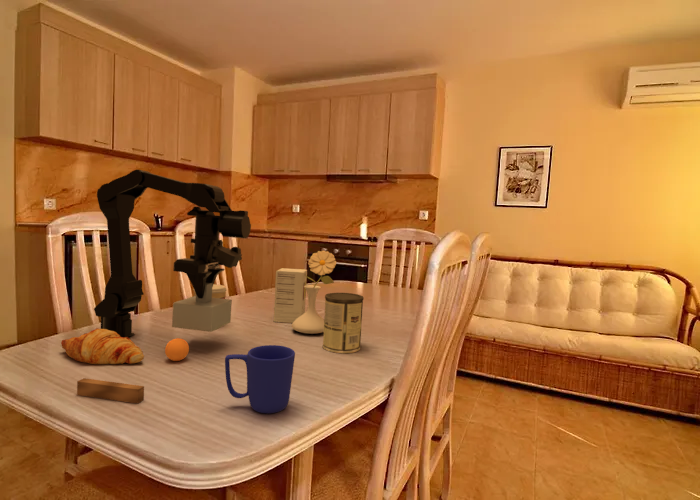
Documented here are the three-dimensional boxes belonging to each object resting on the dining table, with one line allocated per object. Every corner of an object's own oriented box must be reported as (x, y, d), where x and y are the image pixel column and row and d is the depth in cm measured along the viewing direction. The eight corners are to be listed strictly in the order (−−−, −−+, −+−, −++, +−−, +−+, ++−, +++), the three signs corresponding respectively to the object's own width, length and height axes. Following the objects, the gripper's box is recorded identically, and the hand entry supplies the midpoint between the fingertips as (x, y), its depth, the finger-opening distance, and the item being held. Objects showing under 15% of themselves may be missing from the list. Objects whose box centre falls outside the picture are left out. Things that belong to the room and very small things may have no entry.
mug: (228, 396, 76) (230, 343, 75) (293, 397, 77) (296, 345, 76) (217, 417, 68) (220, 358, 67) (290, 418, 69) (293, 360, 68)
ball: (159, 362, 91) (160, 340, 90) (173, 355, 95) (173, 334, 95) (180, 365, 90) (181, 342, 89) (192, 358, 95) (193, 336, 94)
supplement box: (301, 324, 132) (304, 272, 131) (272, 322, 132) (275, 270, 131) (305, 317, 141) (307, 269, 140) (278, 315, 141) (280, 267, 140)
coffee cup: (214, 331, 117) (216, 290, 117) (185, 327, 119) (186, 287, 118) (230, 324, 127) (232, 285, 126) (203, 320, 128) (204, 283, 128)
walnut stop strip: (77, 394, 73) (77, 381, 72) (83, 391, 74) (84, 378, 74) (138, 403, 71) (138, 389, 71) (143, 399, 72) (144, 386, 72)
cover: (172, 327, 99) (174, 284, 98) (194, 317, 109) (196, 278, 108) (211, 332, 97) (213, 288, 96) (230, 322, 107) (232, 282, 106)
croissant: (151, 375, 92) (163, 340, 95) (122, 368, 83) (137, 330, 86) (71, 361, 96) (86, 328, 99) (36, 353, 87) (53, 317, 90)
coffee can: (333, 339, 116) (335, 290, 116) (366, 346, 112) (369, 295, 111) (315, 348, 107) (318, 295, 106) (350, 356, 103) (353, 301, 102)
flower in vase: (283, 332, 120) (288, 248, 119) (302, 324, 131) (306, 247, 129) (323, 340, 115) (328, 252, 114) (339, 331, 126) (344, 250, 124)
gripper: (219, 239, 91) (215, 307, 92) (252, 237, 109) (249, 294, 110) (173, 235, 93) (170, 302, 94) (213, 233, 111) (210, 290, 112)
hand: (203, 297), depth 102 cm, fingers closed on cover, 3 cm apart
